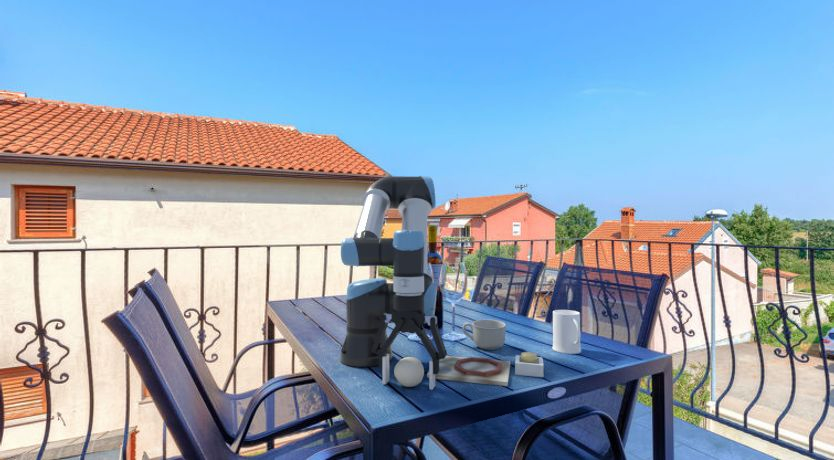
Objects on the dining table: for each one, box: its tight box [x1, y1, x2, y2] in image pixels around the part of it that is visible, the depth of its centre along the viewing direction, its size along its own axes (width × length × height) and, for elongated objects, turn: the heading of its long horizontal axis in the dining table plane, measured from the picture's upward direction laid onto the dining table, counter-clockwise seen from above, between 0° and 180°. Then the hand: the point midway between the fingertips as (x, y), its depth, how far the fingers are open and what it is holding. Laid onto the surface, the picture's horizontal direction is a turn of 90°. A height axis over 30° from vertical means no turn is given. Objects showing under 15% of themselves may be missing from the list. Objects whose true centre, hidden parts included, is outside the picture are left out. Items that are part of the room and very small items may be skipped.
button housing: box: [514, 354, 544, 378], centre depth 102 cm, size 7×7×3 cm
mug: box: [552, 309, 582, 355], centre depth 120 cm, size 12×8×12 cm
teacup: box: [461, 318, 507, 351], centre depth 125 cm, size 14×11×8 cm
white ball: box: [393, 356, 425, 388], centre depth 93 cm, size 7×7×7 cm
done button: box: [520, 351, 538, 363], centre depth 102 cm, size 4×4×2 cm
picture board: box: [426, 355, 511, 387], centre depth 102 cm, size 20×16×2 cm
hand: (408, 384), depth 92 cm, fingers open, 11 cm apart
